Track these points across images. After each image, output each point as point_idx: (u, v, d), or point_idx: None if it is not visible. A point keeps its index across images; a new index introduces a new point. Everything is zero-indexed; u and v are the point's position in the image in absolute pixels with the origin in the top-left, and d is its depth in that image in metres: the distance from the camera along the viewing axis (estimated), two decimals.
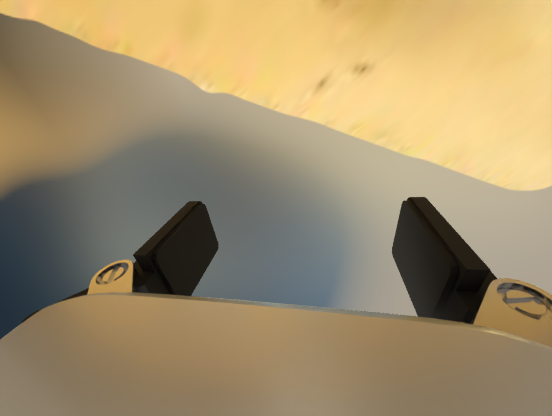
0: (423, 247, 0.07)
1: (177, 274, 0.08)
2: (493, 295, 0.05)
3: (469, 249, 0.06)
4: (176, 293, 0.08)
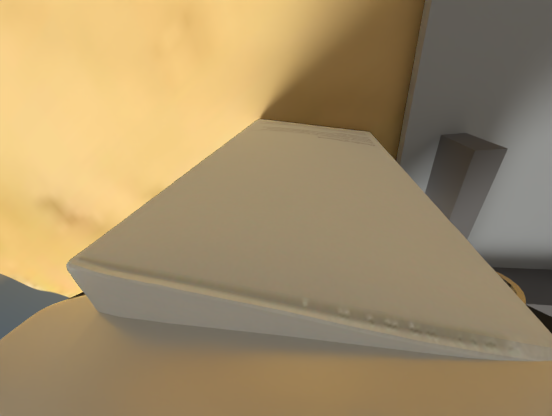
0: None
1: None
2: None
3: None
4: None
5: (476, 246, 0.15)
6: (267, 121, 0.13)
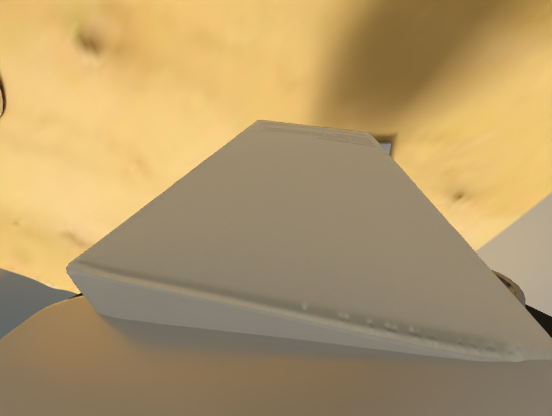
0: None
1: None
2: None
3: None
4: None
5: None
6: (267, 122, 0.13)
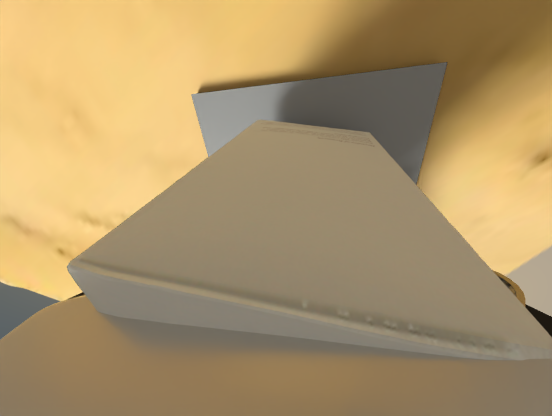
0: None
1: None
2: None
3: None
4: None
5: None
6: (267, 122, 0.13)
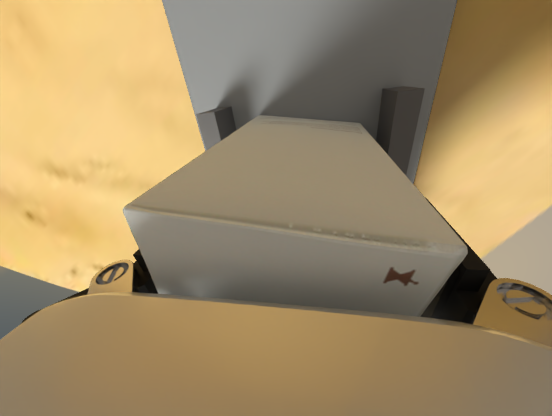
0: None
1: None
2: (493, 295, 0.05)
3: (469, 249, 0.06)
4: None
5: None
6: (266, 116, 0.14)
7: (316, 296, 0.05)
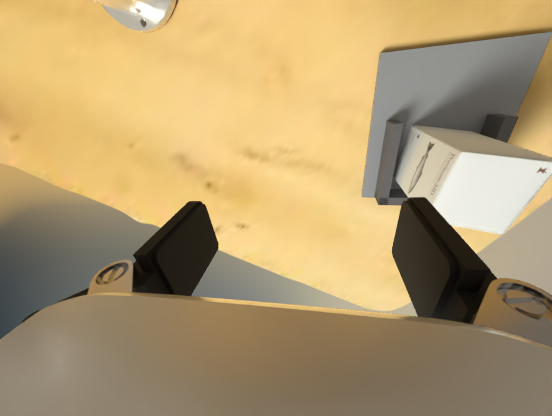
0: (423, 247, 0.07)
1: (177, 274, 0.08)
2: (493, 295, 0.05)
3: (469, 249, 0.06)
4: (176, 293, 0.08)
5: None
6: (420, 126, 0.27)
7: (512, 179, 0.17)
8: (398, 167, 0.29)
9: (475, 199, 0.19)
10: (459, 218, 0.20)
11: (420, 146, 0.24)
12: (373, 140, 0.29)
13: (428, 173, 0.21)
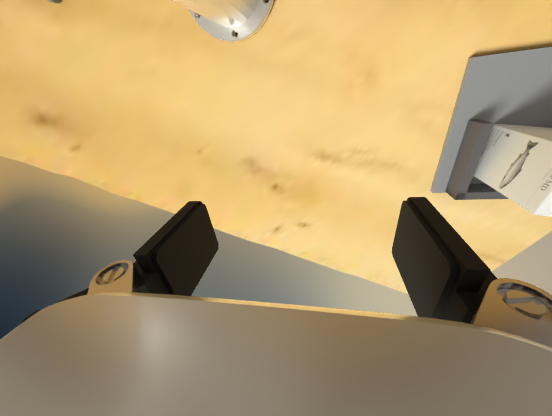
0: (423, 247, 0.07)
1: (177, 274, 0.08)
2: (493, 295, 0.05)
3: (469, 249, 0.06)
4: (176, 293, 0.08)
5: None
6: (503, 124, 0.28)
7: None
8: None
9: None
10: None
11: (513, 144, 0.26)
12: (452, 139, 0.31)
13: (533, 170, 0.23)
